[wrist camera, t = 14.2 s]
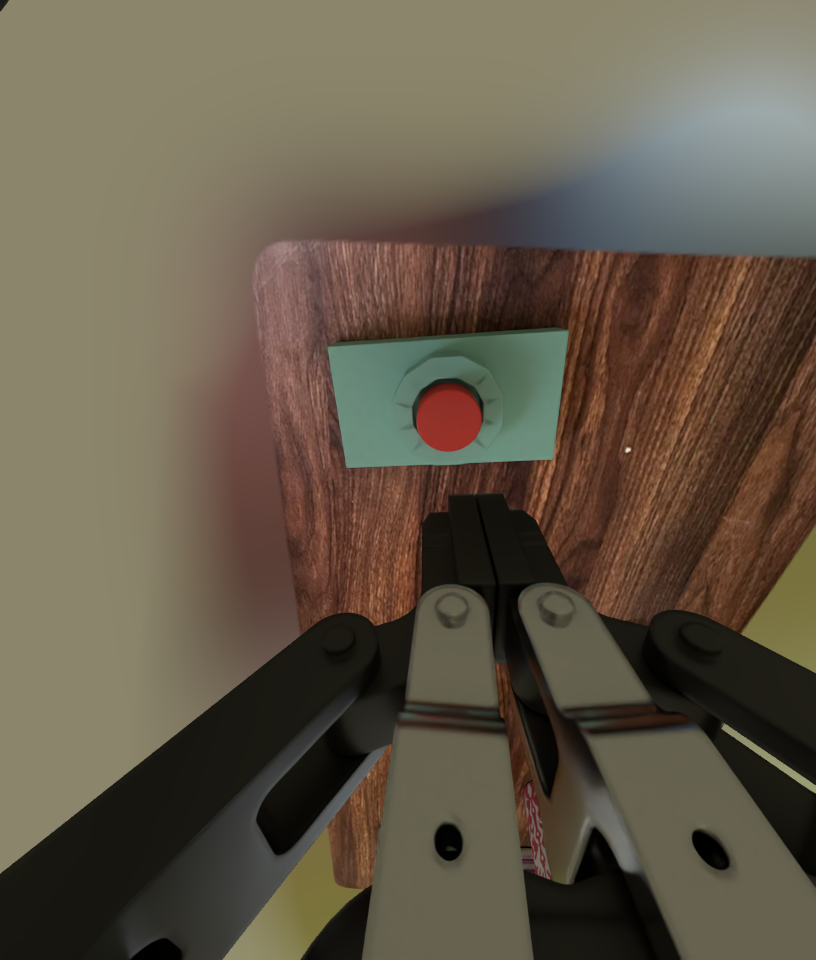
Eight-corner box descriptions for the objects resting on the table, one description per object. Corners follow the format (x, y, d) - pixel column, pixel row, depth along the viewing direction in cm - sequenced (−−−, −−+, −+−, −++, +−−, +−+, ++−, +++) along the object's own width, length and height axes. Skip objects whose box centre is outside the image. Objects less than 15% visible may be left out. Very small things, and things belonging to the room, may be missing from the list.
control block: (352, 455, 27) (340, 480, 23) (335, 342, 23) (318, 350, 20) (544, 447, 26) (562, 471, 22) (557, 327, 22) (581, 332, 19)
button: (418, 442, 22) (418, 453, 21) (415, 384, 21) (414, 391, 19) (477, 440, 22) (481, 450, 20) (478, 380, 20) (482, 387, 19)
